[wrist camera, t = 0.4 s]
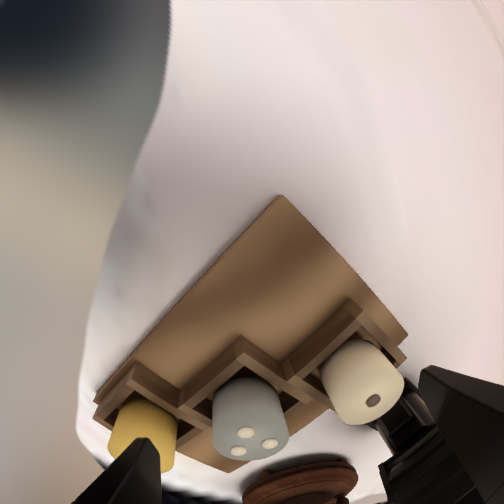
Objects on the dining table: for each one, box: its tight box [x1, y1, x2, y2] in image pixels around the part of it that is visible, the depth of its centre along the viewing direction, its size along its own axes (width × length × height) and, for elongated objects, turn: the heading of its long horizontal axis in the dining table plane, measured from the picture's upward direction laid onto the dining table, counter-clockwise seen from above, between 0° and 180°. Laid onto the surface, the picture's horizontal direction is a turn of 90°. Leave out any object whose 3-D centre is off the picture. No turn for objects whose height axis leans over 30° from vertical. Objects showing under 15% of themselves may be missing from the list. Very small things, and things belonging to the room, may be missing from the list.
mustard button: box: [108, 399, 178, 473], centre depth 16 cm, size 5×5×4 cm
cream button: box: [320, 339, 404, 425], centre depth 17 cm, size 5×5×4 cm
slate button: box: [212, 377, 289, 461], centre depth 17 cm, size 5×5×4 cm
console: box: [92, 195, 408, 473], centre depth 20 cm, size 16×23×3 cm
